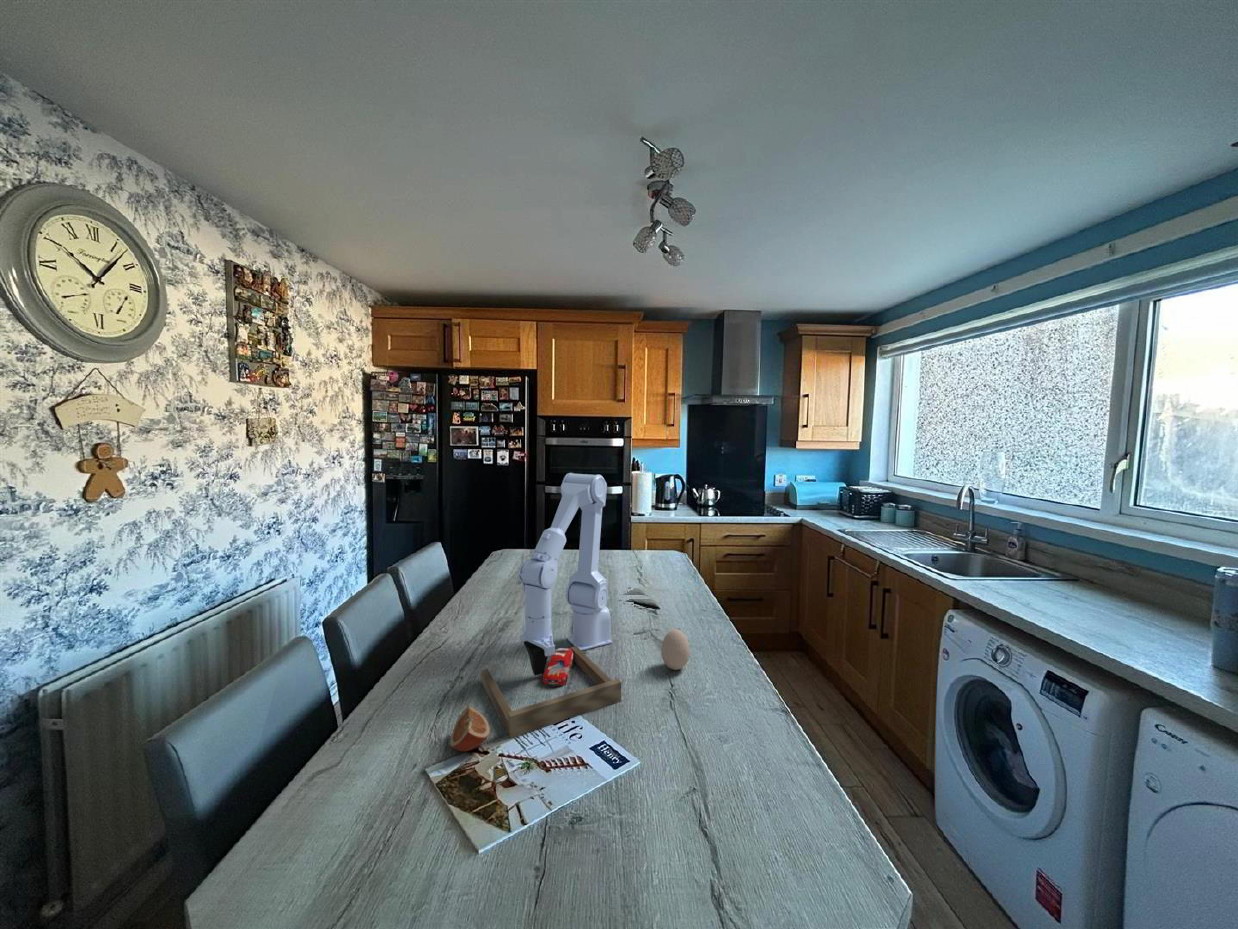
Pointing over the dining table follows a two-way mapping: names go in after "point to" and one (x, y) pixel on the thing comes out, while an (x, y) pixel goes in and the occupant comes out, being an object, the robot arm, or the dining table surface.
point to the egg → (675, 650)
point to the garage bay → (555, 700)
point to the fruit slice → (469, 730)
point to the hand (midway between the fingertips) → (538, 673)
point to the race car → (558, 667)
